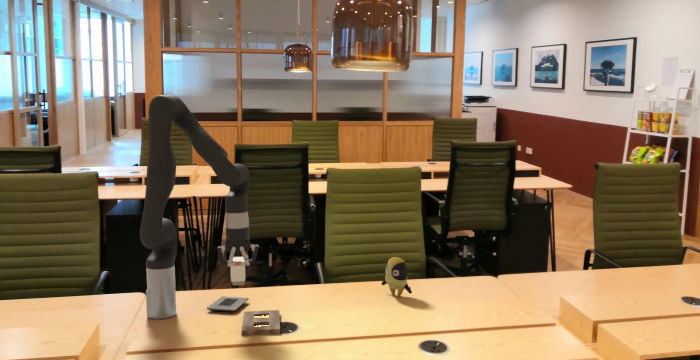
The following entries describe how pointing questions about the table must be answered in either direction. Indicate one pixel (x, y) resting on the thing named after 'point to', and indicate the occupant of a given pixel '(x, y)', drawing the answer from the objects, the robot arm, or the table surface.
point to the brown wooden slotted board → (261, 323)
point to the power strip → (238, 271)
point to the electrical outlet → (227, 304)
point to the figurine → (396, 276)
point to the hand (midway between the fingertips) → (239, 276)
